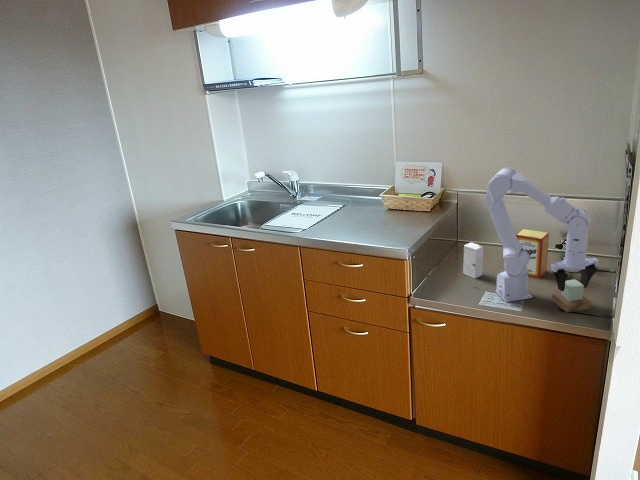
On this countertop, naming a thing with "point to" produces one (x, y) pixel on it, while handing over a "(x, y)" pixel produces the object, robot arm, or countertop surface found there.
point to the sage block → (573, 290)
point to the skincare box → (473, 260)
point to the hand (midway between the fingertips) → (572, 288)
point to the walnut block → (571, 303)
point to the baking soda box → (535, 250)
